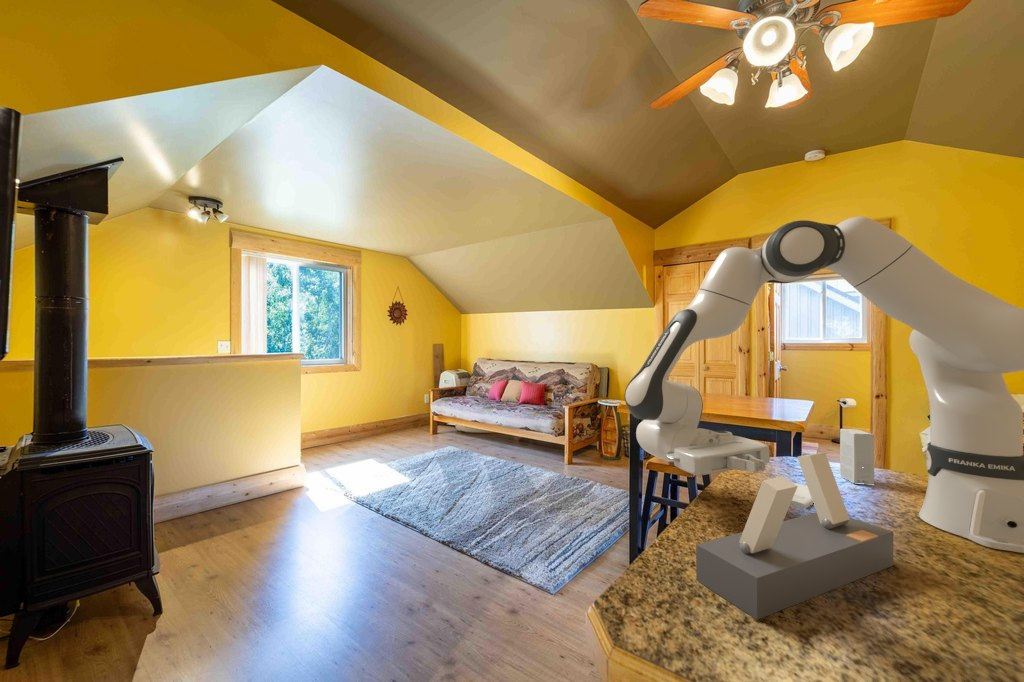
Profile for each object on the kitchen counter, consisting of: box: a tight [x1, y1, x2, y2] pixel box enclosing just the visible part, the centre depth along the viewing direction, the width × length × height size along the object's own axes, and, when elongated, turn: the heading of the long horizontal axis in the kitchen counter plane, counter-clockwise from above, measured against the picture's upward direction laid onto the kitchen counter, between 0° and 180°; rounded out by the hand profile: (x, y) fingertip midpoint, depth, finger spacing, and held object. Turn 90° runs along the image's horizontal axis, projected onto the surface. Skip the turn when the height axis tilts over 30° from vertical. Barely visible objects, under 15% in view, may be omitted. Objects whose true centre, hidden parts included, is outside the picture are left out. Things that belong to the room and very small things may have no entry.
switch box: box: [695, 512, 894, 620], centre depth 60 cm, size 9×30×5 cm, turn 114°
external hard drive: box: [790, 481, 814, 510], centre depth 90 cm, size 2×8×12 cm
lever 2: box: [797, 452, 850, 529], centre depth 65 cm, size 2×4×11 cm, turn 113°
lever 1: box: [739, 476, 798, 554], centre depth 55 cm, size 2×4×11 cm, turn 114°
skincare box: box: [839, 428, 875, 485], centre depth 99 cm, size 6×4×12 cm
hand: (760, 467), depth 75 cm, fingers closed
